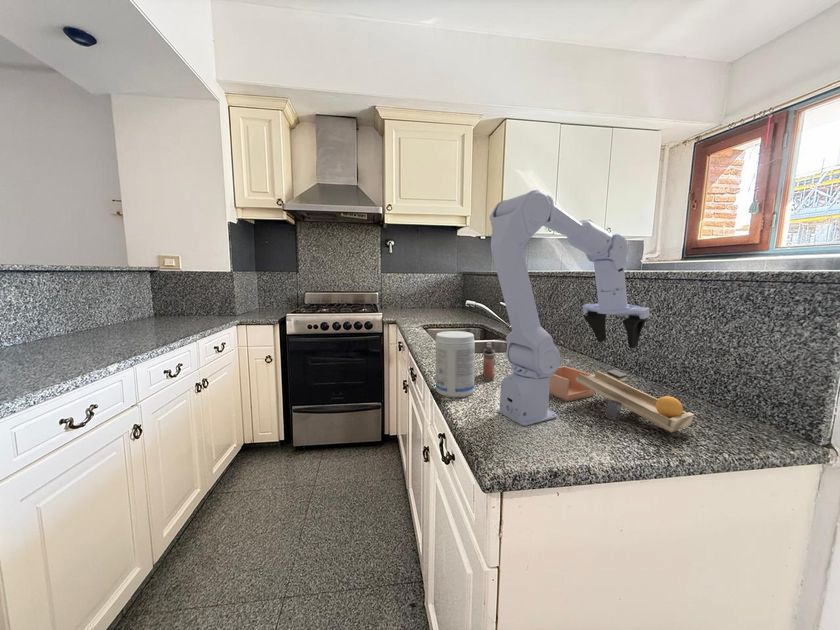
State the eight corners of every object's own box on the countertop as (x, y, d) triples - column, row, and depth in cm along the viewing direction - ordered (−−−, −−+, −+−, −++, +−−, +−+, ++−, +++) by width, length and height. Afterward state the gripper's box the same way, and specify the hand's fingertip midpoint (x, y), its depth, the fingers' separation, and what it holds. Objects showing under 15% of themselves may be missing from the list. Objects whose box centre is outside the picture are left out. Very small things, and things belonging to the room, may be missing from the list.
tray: (568, 401, 74) (569, 380, 74) (537, 389, 83) (538, 370, 82) (594, 395, 78) (596, 375, 78) (563, 384, 87) (564, 366, 86)
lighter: (494, 382, 88) (496, 346, 87) (482, 381, 89) (483, 345, 88) (494, 373, 96) (495, 340, 95) (482, 372, 97) (483, 340, 95)
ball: (671, 424, 58) (678, 405, 57) (648, 412, 61) (654, 393, 60) (683, 420, 60) (690, 401, 59) (660, 408, 63) (666, 390, 62)
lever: (671, 432, 57) (674, 420, 56) (575, 381, 74) (577, 371, 73) (708, 418, 63) (712, 408, 62) (612, 373, 80) (614, 365, 79)
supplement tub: (474, 386, 84) (475, 331, 82) (473, 400, 75) (475, 338, 73) (437, 384, 86) (438, 330, 84) (432, 397, 77) (433, 336, 75)
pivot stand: (616, 421, 64) (617, 404, 64) (606, 417, 66) (607, 400, 66) (644, 412, 68) (646, 396, 68) (634, 409, 70) (636, 393, 70)
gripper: (656, 283, 68) (660, 343, 71) (593, 283, 81) (599, 333, 84) (635, 293, 66) (641, 354, 69) (574, 291, 79) (581, 342, 81)
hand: (617, 343), depth 76 cm, fingers open, 7 cm apart
